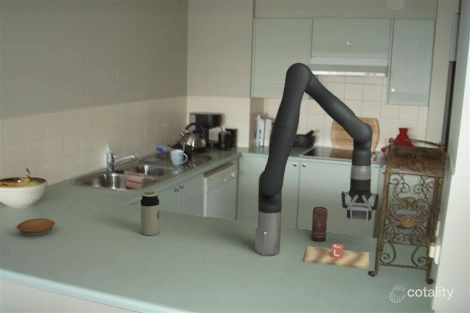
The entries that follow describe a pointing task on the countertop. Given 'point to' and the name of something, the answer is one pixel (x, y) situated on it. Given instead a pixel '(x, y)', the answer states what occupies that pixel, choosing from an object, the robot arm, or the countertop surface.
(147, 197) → the travel mug
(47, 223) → the pie
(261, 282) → the countertop surface
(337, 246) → the letter cube
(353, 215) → the cover
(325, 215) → the can
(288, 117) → the robot arm
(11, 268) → the countertop surface
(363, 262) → the board
